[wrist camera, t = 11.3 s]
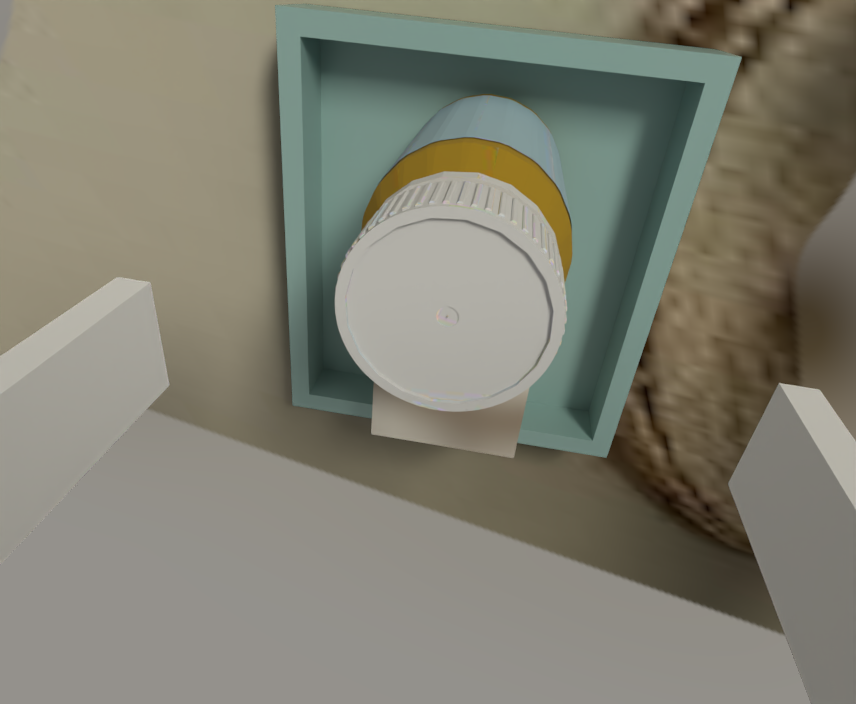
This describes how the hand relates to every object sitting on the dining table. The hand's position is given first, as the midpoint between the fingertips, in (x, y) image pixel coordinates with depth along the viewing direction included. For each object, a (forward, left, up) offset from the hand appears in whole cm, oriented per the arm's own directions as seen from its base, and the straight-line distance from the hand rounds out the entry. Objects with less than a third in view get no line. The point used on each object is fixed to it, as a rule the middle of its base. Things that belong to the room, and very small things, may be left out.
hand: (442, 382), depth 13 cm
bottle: (0, 0, -18) cm, 18 cm away
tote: (+4, 0, -19) cm, 19 cm away
